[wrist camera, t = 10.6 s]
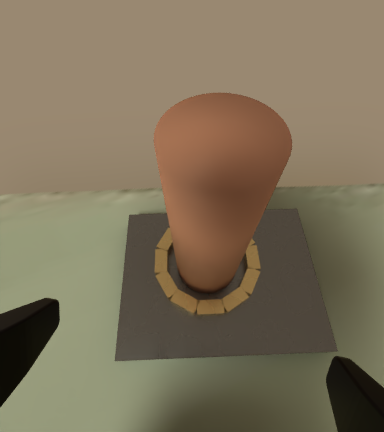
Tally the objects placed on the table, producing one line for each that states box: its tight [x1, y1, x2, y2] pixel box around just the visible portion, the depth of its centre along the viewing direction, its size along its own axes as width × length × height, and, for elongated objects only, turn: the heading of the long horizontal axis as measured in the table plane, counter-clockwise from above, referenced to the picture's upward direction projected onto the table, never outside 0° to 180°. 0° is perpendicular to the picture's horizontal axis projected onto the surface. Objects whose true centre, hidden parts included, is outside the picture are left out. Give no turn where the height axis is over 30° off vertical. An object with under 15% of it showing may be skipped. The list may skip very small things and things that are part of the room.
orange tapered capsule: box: [154, 93, 292, 294], centre depth 15 cm, size 5×5×14 cm
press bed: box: [115, 209, 338, 361], centre depth 21 cm, size 16×12×2 cm
